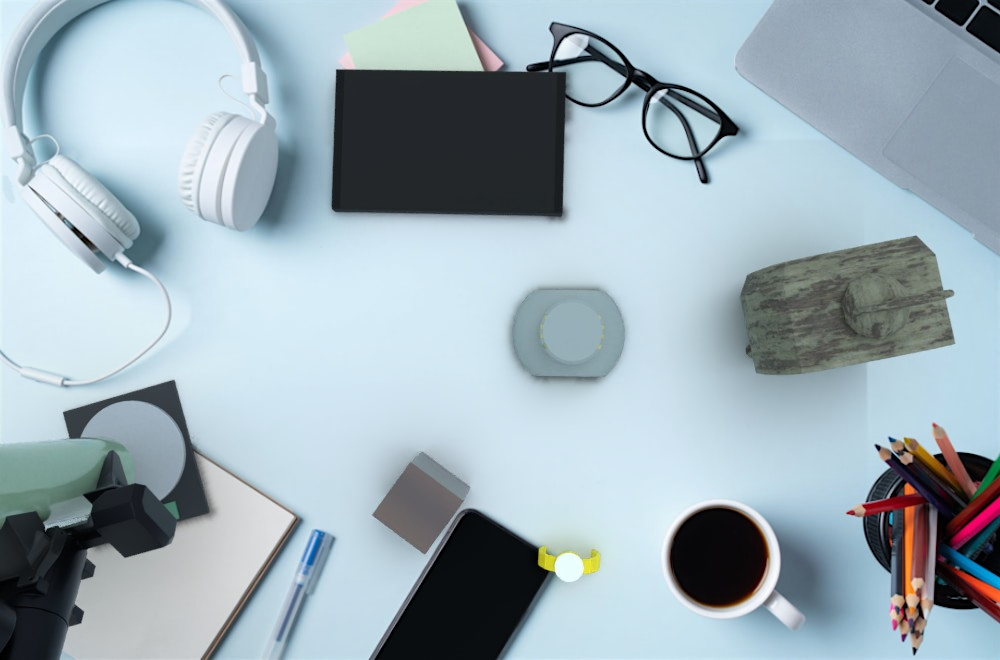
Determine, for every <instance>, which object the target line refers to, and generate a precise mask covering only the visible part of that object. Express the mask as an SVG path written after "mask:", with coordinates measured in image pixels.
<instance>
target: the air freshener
mask: <svg viewBox="0 0 1000 660" xmlns="http://www.w3.org/2000/svg"><path fill="white" fill-rule="evenodd" d="M512 340H513V344H514V345H513V347H514V349H515V352H516V356H517V357H518V360H519V362H520V363H521V365H522V366H523V367H524V369H525V371H527V372H528V373H529V374H530V375H531V376H535V377H537V376H538V377H539V376H540V377H586V378H587V377H590V378H591V377H606V376H607V375H608V374H609V373H610V372H612V370H613V369H614V368H615V366H616V365H617V363H618V362H619V359H620V358H621V356H622V353H623V351H624V350H623V349H624V347H625V346H624V345H625V340H626V327H625V322H624V318H623V316H622V311H621V310H620V308H619V305H618V304H617V302H615V300H614V299H613V297H612V296H611V295H610V294H609V293H608V292H607V291H604V290H595V289H594V290H593V289H592V290H591V289H539V290H537V289H536V290H532V291H531V292H529V294H528V295H527V296H526V297H525V299H524V300H523V301H522V302H521V304H520V306H519V308H518V310H517V312H516V315H515V318H514V322H513V328H512Z"/></svg>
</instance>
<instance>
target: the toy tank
mask: <svg viewBox="0 0 1000 660" xmlns="http://www.w3.org/2000/svg"><path fill="white" fill-rule="evenodd" d="M954 296H955V291H954V290H953V289H950V288H949V289H944V287H943V282H942V277H941V272H940V268H939V264H938V259H937V254H936V253H935V252H934V251H933V250H932V249H931V248H930V247H929V246H928V245H927V244H926V243H925V242H924V241H923V240H921V238H920V237H919V236H918V235H912V236H906V237H900V238H896V239H890V240H886V241H880V242H875V243H869V244H865V245H859V246H854V247H849V248H844V249H839V250H834V251H830V252H829V251H828V252H827V253H826V252H825V253H820V254H815V255H810V256H806V257H801V258H796V259H791V260H787V261H784V262H780V263H779V262H778V263H776V264H772V265H769V266H766V267H764V268H761V269H758V270H755V271H753V272H751V273H748V274H746V277H745V280H744V283H743V286H742V289H741V292H740V296H739V299H740V304H741V309H742V314H743V318H744V322H745V329H746V331H747V336H748V343H749V344H748V345H746V348H745V354H746V356H747V357H748V358H751V359H752V360H753V365H754V369H755V373H756V374H759V375H764V376H790V375H803V374H810V373H815V372H821V371H827V370H828V371H829V370H833V369H838V368H844V367H849V366H855V365H859V364H864V363H870V362H876V361H880V360H886V359H890V358H891V359H892V358H896V357H900V356H906V355H911V354H915V353H921V352H926V351H930V350H935V349H939V348H945V347H948V346H949V347H950V346H953V345H956V340H955V335H954V330H953V326H952V322H951V318H950V313H949V309H948V303H947V299H949V298H952V297H954Z"/></svg>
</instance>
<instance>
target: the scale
mask: <svg viewBox="0 0 1000 660" xmlns="http://www.w3.org/2000/svg"><path fill="white" fill-rule="evenodd" d="M177 387H178V386H177V383H176V380H175V379H171V380H167V381H164V382H161V383H158V384H154V385H151V386H147V387H143V388H141V389H137V390H134V391H130V392H126V393H123V394H120V395H116V396H112V397H109V398H106V399H103V400H99V401H96V402H95V401H94V402H92V403H88V404H86V405H82V406H79V407H75V408H72V409H68V410H64V411H62V414H63V419H64V422H65V423H64V424H65V425H66V430H67V434H68V437H69V438H82V437H95V436H105V437H109V438H112V439H115V440H116V441H118V442H120V443H121V444H122V445H123V446H124V447H125V448H126V449H127V450H128V452H129V453H130V455H131V457H132V460H133V463H134V469H135V476H134V482H133V484H134V483H137V484H142V485H146V486H147V487H148V488H149V489H150V491H151V492H152V493H153V494H154V495H155V496H156V497H157V498H158V499H159V500H160V501H161V503H162V504H163V505H164V506H165V507H166V508H167V509H168V510H169V511H170V512H171V513H172V515H173V516H174V517H175V518H176V519H177V523H179V522H182V521H186V520H189V519H193V518H195V517H200V516H204V515H207V514H210V513H211V510H210V505H209V503H208V500H207V496H206V492H205V488H204V484H203V481H202V477H201V473H200V469H199V466H198V462H197V459H196V458H197V457H196V453H195V451H194V447H193V443H192V440H191V436H190V433H189V428H188V425H187V421H186V417H185V413H184V409H183V406H182V403H181V402H182V401H181V397H180V394H179V391H178V388H177ZM69 438H68V439H69Z"/></svg>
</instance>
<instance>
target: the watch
mask: <svg viewBox="0 0 1000 660" xmlns="http://www.w3.org/2000/svg"><path fill="white" fill-rule="evenodd" d="M547 548H548V547H547V546H546V545H543V546H541V547H539V548H538V560H537V565H538V566H539V567H540V568H542V569H544V570H547V571H549V572H554V573H555V575H556V576H557V578H558V579H560V580H561V581H562V582H566V583H573V582H575V581H577V580H579V579H580V578H581V577H582V575H591V574H594V573H596V572H598V571H600V566H601V564H600V563H601V552H599V551H597V550H595V549H591V550H590V557H589V558H582V557H581V556H580V554H578V553H577V552H575V551H573V550H565V551H562V552H560V553H559V554H558V555H557V556H555V555H551V554H548V553H547V550H548V549H547Z"/></svg>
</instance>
